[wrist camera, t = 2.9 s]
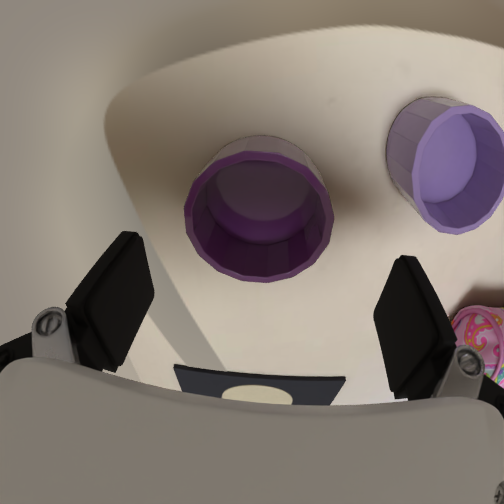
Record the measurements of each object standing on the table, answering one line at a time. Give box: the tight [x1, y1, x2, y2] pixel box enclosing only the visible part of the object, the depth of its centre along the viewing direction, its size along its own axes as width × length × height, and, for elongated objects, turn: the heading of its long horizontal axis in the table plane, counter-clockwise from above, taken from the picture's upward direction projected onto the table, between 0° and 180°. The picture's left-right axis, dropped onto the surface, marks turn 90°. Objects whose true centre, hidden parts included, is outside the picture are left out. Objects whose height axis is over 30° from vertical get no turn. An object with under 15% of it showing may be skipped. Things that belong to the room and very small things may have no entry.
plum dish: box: [184, 135, 334, 283], centre depth 14 cm, size 7×7×4 cm
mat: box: [173, 364, 346, 406], centre depth 32 cm, size 18×20×1 cm
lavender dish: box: [387, 97, 504, 235], centre depth 11 cm, size 7×7×4 cm
